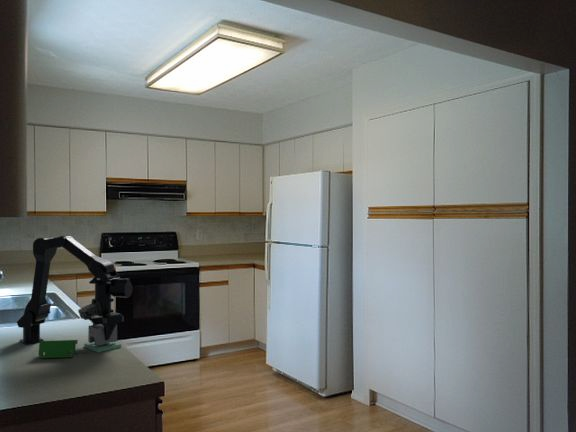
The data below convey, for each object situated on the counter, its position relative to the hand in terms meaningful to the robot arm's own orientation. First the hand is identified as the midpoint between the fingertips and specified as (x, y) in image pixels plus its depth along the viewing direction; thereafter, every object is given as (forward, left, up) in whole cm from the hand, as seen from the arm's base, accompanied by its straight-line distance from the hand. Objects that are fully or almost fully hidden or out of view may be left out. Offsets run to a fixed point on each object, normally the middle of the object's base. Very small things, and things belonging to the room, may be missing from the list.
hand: (102, 338), depth 183 cm
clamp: (-1, -15, -4) cm, 16 cm away
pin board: (0, 0, -3) cm, 3 cm away
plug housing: (0, 0, -1) cm, 1 cm away
